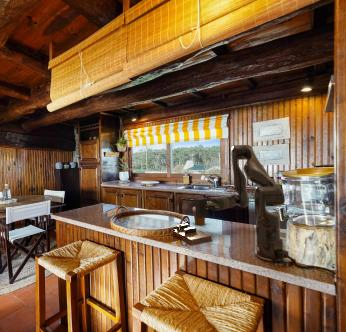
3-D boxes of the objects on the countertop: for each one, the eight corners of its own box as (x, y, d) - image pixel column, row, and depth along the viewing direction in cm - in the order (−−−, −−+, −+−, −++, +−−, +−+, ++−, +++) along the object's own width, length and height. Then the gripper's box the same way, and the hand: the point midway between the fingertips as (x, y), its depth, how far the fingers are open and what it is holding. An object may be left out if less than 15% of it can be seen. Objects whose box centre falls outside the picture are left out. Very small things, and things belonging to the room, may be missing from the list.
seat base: (211, 240, 120) (211, 231, 120) (191, 245, 116) (191, 235, 115) (190, 231, 137) (190, 223, 137) (172, 235, 132) (172, 226, 132)
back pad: (207, 216, 125) (207, 198, 125) (199, 218, 123) (199, 199, 123) (203, 215, 129) (203, 197, 128) (195, 216, 126) (195, 198, 126)
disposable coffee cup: (209, 225, 148) (208, 208, 147) (195, 226, 148) (194, 209, 147) (203, 221, 157) (203, 205, 157) (191, 222, 157) (190, 206, 157)
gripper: (211, 195, 137) (189, 198, 131) (229, 199, 124) (205, 202, 118) (211, 207, 137) (189, 210, 131) (229, 211, 124) (206, 215, 118)
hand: (197, 206), depth 125 cm, fingers closed on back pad, 3 cm apart
